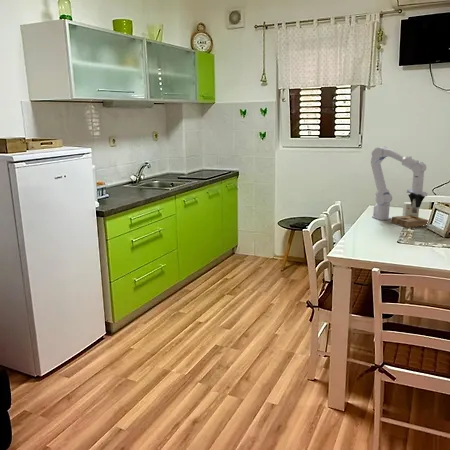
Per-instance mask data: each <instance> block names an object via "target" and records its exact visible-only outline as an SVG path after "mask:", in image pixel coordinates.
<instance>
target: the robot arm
mask: <svg viewBox="0 0 450 450" xmlns="http://www.w3.org/2000/svg"><path fill="white" fill-rule="evenodd" d="M387 157H389V158H392V159H394V160H396V161H399V162H401V165H402V166H403V167H405V168H408V169H409V170H411V171H412V173H413V174H412V184H411V185H412V186H411V189H407V190H406V193H407V194H408V197H409V202H411V206H412V201H413V199H416V207H417V208H418V207H419V208H420V207H421V205H422V203H423V201H424V199H425V198H426V197H428V192H425V191H424V189H423V188H424V180H425V179H424V178H425V171H427V165H426V164H425V163H424V162H423V161H421V162H419V160H416V159H414V158H412V156H410V155H408V156H403V155H401V154H400V153H398V152H397V151H395V150H393V149H392V148H390V147H386V146H382V147H375V148H374V149H373V150H372V151H371V159H370V166H371V170H372V174H373V178H374V182H375V185H376V193H375V195H376V196H375V202H376V204H374V206H373V211H372V213H373V214H372V215H373V216H371V217H372V219H373V218H374V219H377V220H380V221H386V220H392V217H390V207H391V202H392V200H393V196H392V194H391V193H390V190H389V189H388V188H387V185H386V184H387V183H386V181H385V176H384V172H383V169H382V164H381V163H383V161H384V160H385V159H386V158H387Z"/></svg>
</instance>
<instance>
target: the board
mask: <svg viewBox="0 0 450 450" xmlns="http://www.w3.org/2000/svg"><path fill="white" fill-rule="evenodd" d="M391 218H392V219H391V221H390V222H391V224H395V225H397V226H401V227H403V226H404V228H406V227H407V228H406V229H409V228H408V227H411V228H417V227H416V226H421V227H424V226H423V225H426V224H427V222H428V223H429V219H427V218H426V219H425V218H423V217H419V216H418V217H416V216H412V215H408V216H403V215H399V216H398V215H397V216H392V217H391Z"/></svg>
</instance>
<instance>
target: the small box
mask: <svg viewBox="0 0 450 450" xmlns="http://www.w3.org/2000/svg"><path fill="white" fill-rule="evenodd" d="M419 213H420V207H418V213H412V206H411V201H408V202H407V201H404V202H403V204H402V216H408V215H412V216H416V217H419Z"/></svg>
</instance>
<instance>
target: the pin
mask: <svg viewBox="0 0 450 450" xmlns="http://www.w3.org/2000/svg"><path fill="white" fill-rule="evenodd" d="M412 213H418V208H417V207H416V199H413V201H412Z"/></svg>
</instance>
